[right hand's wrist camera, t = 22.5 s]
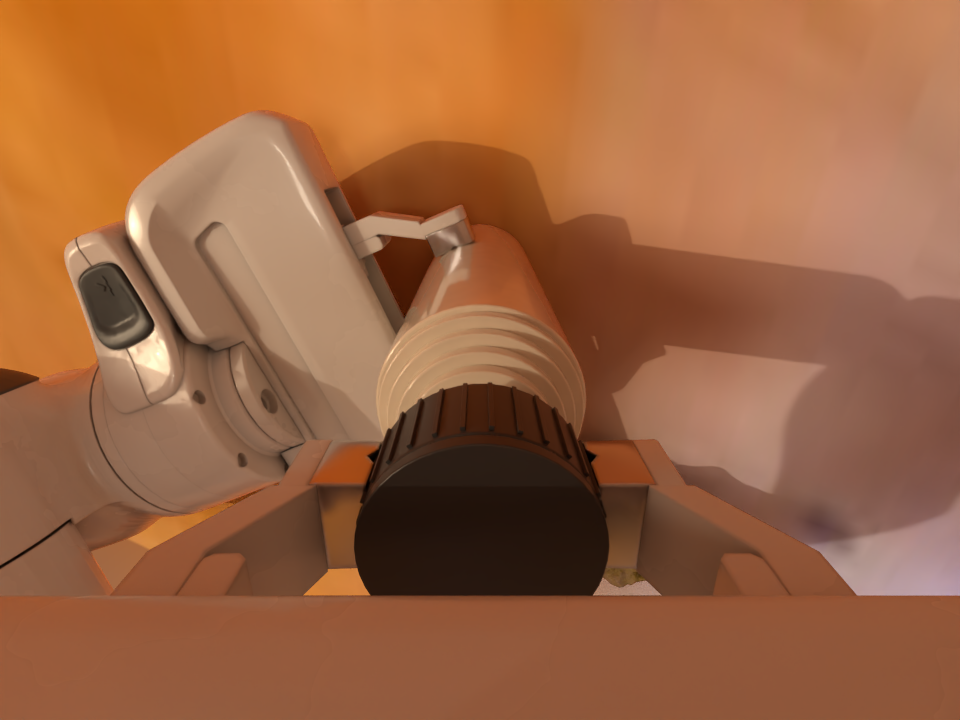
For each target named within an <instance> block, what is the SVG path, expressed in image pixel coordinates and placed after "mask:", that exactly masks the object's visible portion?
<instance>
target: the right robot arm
mask: <svg viewBox="0 0 960 720" xmlns="http://www.w3.org/2000/svg"><path fill="white" fill-rule="evenodd" d="M382 443H383V441H368V440H332V439H328V440H308V441H306V442H305V443H304V445H303V446H302V448H301V449H300V451H299V453H298V454H297V456H296V457H295V459H294V461H293V462H292V464H291V465H290V467H289V469H288V470H287V472H286V473H285V475H284V477H283V478H282V480H281V481H280V483H279V484H278V485H270V486H268V487H266V488H264V489H262V490H261V491H259V492H257V493H255V494H253V495H251V496H249V497H247V498H246V499H244V500H242V501H240V502H238V503H236V504H234V505H233V506H231V507H229V508H227V509H225V510H223V511H221V512H220V513H218V514H216V515H214V516H212V517H210V518H208V519H206V520H205V521H203V522H201V523H199V524H197V525H195V526H193V527H192V528H190V529H188V530H186V531H184V532H182V533H180V534H178V535H177V536H175V537H173V538H171V539H169V540H167V541H165V542H164V543H162V544H160V545H158V546H156V547H154V548H152V549H151V550H149V551H147V552H146V553H145V555H144V556H143V557H142V558H141V559H140V560H139V562H138V563H137V564H136V565H135V566H134V567H133V569H132V570H131V571H130V572H129V573H128V574H127V576H126V577H125V578H124V579H123V580H122V581H121V583H120V584H119V585H118V586H117V587H116V588H115V590H114V591H113V592H112V593H111V594H110V595H109V596H0V720H960V596H857V595H856V594H855V593H854V591H853V590H852V589H851V588H850V587H849V586H848V584H847V583H846V582H845V581H844V580H843V579H842V578H841V576H840V575H839V574H838V573H837V572H836V571H835V569H834V568H833V567H832V566H831V565H830V564H829V562H828V561H827V560H826V559H825V558H824V557H823V556H822V554H821V553H820V552H819V551H817V550H815V549H813V548H811V547H809V546H807V545H805V544H804V543H802V542H800V541H798V540H796V539H794V538H792V537H790V536H789V535H787V534H785V533H783V532H781V531H779V530H777V529H775V528H774V527H772V526H770V525H768V524H766V523H764V522H762V521H760V520H759V519H757V518H755V517H753V516H751V515H749V514H747V513H745V512H744V511H742V510H740V509H738V508H736V507H734V506H732V505H730V504H729V503H727V502H725V501H723V500H721V499H719V498H717V497H715V496H714V495H712V494H710V493H708V492H706V491H704V490H702V489H700V488H699V487H697V486H695V485H686V483H685V482H684V480H683V479H682V477H681V476H680V474H679V473H678V471H677V470H676V468H675V467H674V465H673V464H672V462H671V460H670V459H669V457H668V456H667V454H666V453H665V451H664V450H663V448H662V447H661V445H660V444H659V442H658V441H657V440H655V439H648V440H611V441H582V444H583V447H584V449H585V452H586V455H587V458H588V460H589V463H590V466H591V469H592V471H593V474H594V477H595V480H596V483H597V485H598V488H599V491H600V494H601V496H600V497H598V499H599V502H600V505H601V507H604V509H605V512H606V516H607V518H605V519H606V523H607V527H608V532H609V546H610V547H609V556H608V562H607V565H606V568H624V569H637V572H638V573H639V574H640V575H641V576H642V577H643V578H644V579H645V580H647V581H648V582H649V583H650V584H651V585H652V586H653V587H654V588H655V589H656V590H657V591H658V592H659V593H660V594H661V595H662V596H303V595H304V594H305V593H306V592H307V591H308V590H309V589H310V588H311V587H312V586H313V585H314V584H315V583H316V582H317V581H318V580H319V579H320V578H321V577H322V576H323V575H324V574H325V573H327V572H328V570H327V569H340V568H357V565H356V561H355V553H354V534H355V529H356V520H357V517H358V514H359V513H360V512H361V509H362V506H363V504H361V503H360V500H361V497H362V494H363V492H367V489H368V486H369V483H370V482H369V481H370V478H371V475H372V472H373V469H374V460H375V458H376V457H378V455H379V452H380V449H381V446H382Z"/></svg>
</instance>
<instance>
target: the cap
mask: <svg viewBox="0 0 960 720" xmlns="http://www.w3.org/2000/svg"><path fill="white" fill-rule="evenodd" d="M369 482H370V483H369V486H368V489H367V492H363V494H362V497H361V500H360V503H361V504H363V506H362V509H361V512H360V513H359V514H358V517H357V520H356V529H355V534H354V553H355V561H356V565H357V568H358V572H359V575H360V577H361V579H362V581H363V584H364V586H365V588H366V589H367V591H368V592H369V594H370V595H371V596H592V595H593V594H594V592H595V591H596V589H597V588H598V586H599V584H600V582H601V580H602V577H603V575H604V573H605V569H606V565H607V562H608V556H609V547H610V546H609V532H608V527H607V523H606V519H605V518H607V516H606V512H605V509H604V507H601V505H600V502H599V499H598V497H600V496H601V494H600V491H599V488H598V485H597V483H596V480H595V477H594V474H593V471H592V469H591V466H590V463H589V460H588V458H587V455H586V452H585V449H584V447H583V444H582V441H581V440H580V441H578V440H577V437H576V434H575V431H574V429H573V426H572V424H571V423H567V422H566V421H565V420H564V418H563V417H562V416H561V415H560V414H559V412H558V409H557V408H556V407H554V408H552V407H551V406H549V405H548V404H546V403H545V402H544V401H542V400H540V399H539V396H537V395H534V396H533V395H531V394H529V393H526V392H524V391H521V390H518V389H517V388H516V387H515V386H512V388H511V387H507V386H503V385H495V384H492V382H488V384H468V383H463V385H460V386H456V387H452V388H448V389H444V388H442V389H439V391H438V392H437V393H434V394H432V395H430V396H428V397H426V398H424V399H422V398H420V399H418V401H417V403H416V404H415V405H414V406H412V407H411V408H409V409H408V410H407V411H406V412H405V413H404V412H402V413H400V416H399V419H398V421H397V422H396V423H395V424H394V426H393V427H392V428H391V429H390V428H388V429H387V431H386V434H385V437H384V440H383V443H382V446H381V449H380V452H379V455H378V457H376V458H375V460H374V469H373V472H372V475H371V478H370V481H369Z"/></svg>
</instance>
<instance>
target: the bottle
mask: <svg viewBox="0 0 960 720" xmlns="http://www.w3.org/2000/svg"><path fill="white" fill-rule="evenodd" d="M471 227H472V229H473V232H474V234H475V240H474V241H473V242H471V243H469V244H467V245H464V246H461V247H457V246H453V248H452V249H451V251H449V252H448V253H446V254H443V255H441V256H438V257H435V255H434V257H433V259H432V261H431V263H430V265H429V268H428V270H427V272H426V274H425V276H424V278H423V280H422V282H421V284H420V287H419V289H418V291H417V293H416V295H415V297H414V299H413V301H412V304H411V306H410V308H409V310H408V312H407V314H406V316H405V318H404V320H403V323H402V325H401V327H400V329H399V331H398V333H397V335H396V337H395V340H394V342H393V344H392V346H391V348H390V350H389V352H388V354H387V357H386V359H385V361H384V363H383V365H382V368H381V371H380V374H379V377H378V382H377V387H376V409H377V416H378V420H379V423H380V427H381V431H382V434H383V437H385V434H386V431H387V429H388V428H390V429H391V428H392V427H393V426H394V424H395V423H396V422H397V421H398V419H399V416H400V413H402V412H404V413H405V412H406V411H407V410H408V409H409V408H411V407H412V406H414V405H415V404H416V403H417V401H418V399H420V398H422V399H424V398H426V397H428V396H430V395H432V394H434V393H437V392H438V391H439V389H442V388H444V389H448V388H452V387H456V386H460V385H463V383H468V384H488V382H492V384H495V385H503V386H507V387H511V388H512V386H515V387H516V388H517V389H518V390H521V391H524V392H526V393H529V394H531V395H533V396H534V395H537V396H539V399H540V400H542V401H544V402H545V403H546V404H548V405H549V406H551V407H552V408H554V407H556V408H557V409H558V412H559V414H560V415H561V416H562V417H563V418H564V420H565V421H566V422H567V423H571V424H572V426H573V429H574V431H575V434H576V437H577V440H578V437H579V434H580V432H581V428H582V424H583V420H584V415H585V411H586V387H585V382H584V377H583V373H582V370H581V368H580V365H579V363H578V360H577V358H576V356H575V354H574V352H573V350H572V348H571V346H570V344H569V342H568V340H567V338H566V336H565V333H564V331H563V329H562V327H561V325H560V323H559V321H558V319H557V317H556V315H555V313H554V311H553V309H552V307H551V305H550V303H549V300H548V298H547V296H546V294H545V292H544V290H543V288H542V286H541V284H540V282H539V280H538V278H537V276H536V274H535V272H534V269H533V267H532V265H531V263H530V261H529V259H528V257H527V255H526V253H525V251H524V249H523V248H522V246H521V245H520V243H519V242H518V241H517V240H516V239H515V238H514V237H513V236H512V235H511V234H509V233H508V232H506V231H505V230H503V229H501V228H498V227H495V226H492V225H485V224H475V225H471Z"/></svg>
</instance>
